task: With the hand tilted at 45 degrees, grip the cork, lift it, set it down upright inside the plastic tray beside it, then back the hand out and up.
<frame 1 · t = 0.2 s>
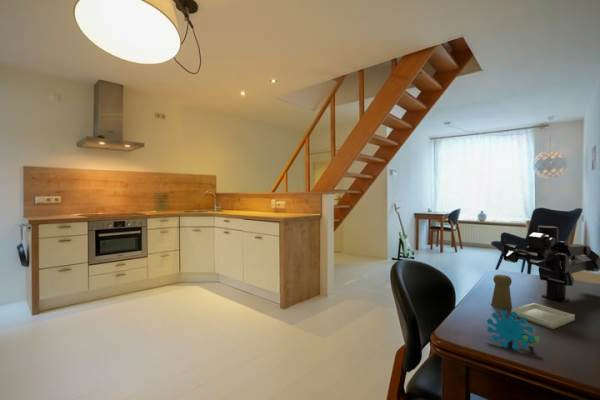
hand: (520, 260, 100), 16 cm above the table, tool horizontal, fingers open, 9 cm apart
gear: (511, 345, 75), on the table
cork: (501, 307, 102), on the table
tray: (542, 317, 93), on the table
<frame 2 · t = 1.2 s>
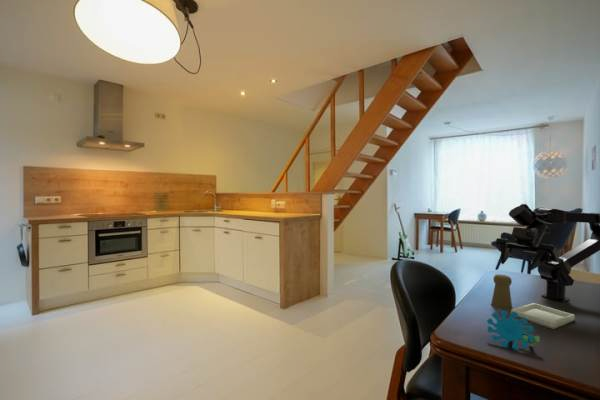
hand: (515, 266, 105), 13 cm above the table, tool tilted 45°, fingers open, 9 cm apart
nothing on the table moved.
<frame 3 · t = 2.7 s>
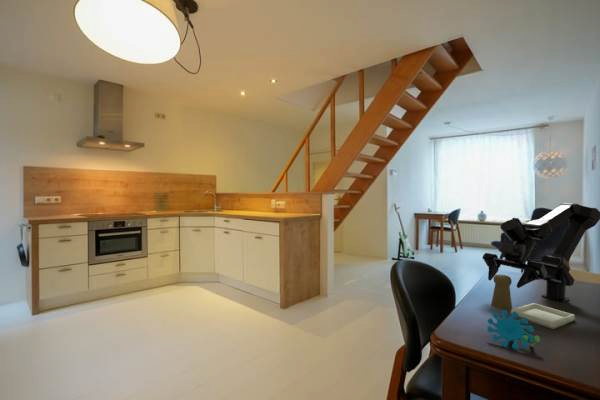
hand: (502, 283, 102), 8 cm above the table, tool tilted 45°, fingers open, 9 cm apart
nothing on the table moved.
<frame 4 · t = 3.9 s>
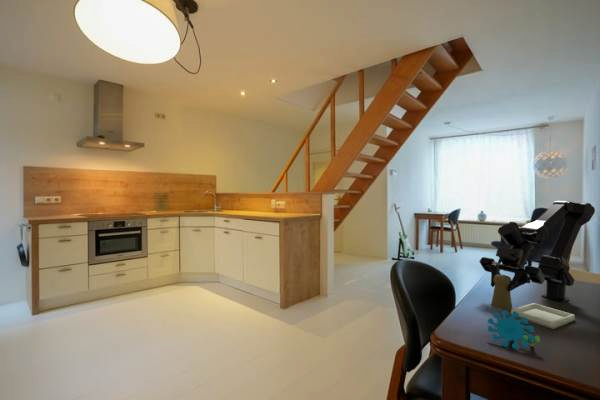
hand: (499, 288, 101), 7 cm above the table, tool tilted 45°, fingers closed on cork, 5 cm apart
cork: (501, 307, 102), on the table, touching gripper
everything else where it was.
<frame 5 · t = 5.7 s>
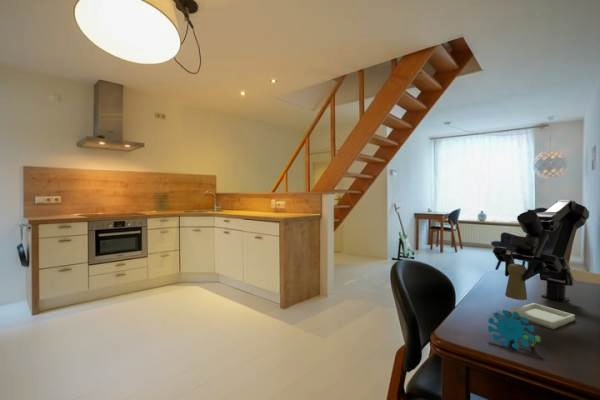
hand: (514, 277, 98), 11 cm above the table, tool tilted 45°, fingers closed on cork, 5 cm apart
cork: (516, 297, 99), point 4 cm above the table, touching gripper
everything else where it was.
when the fingers open (8 cm above the table, at t = 7.5 s): cork stays where it is, resting on tray.
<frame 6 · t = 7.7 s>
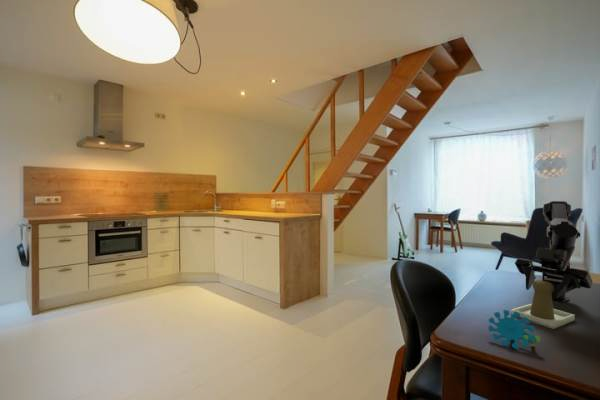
hand: (541, 292, 92), 8 cm above the table, tool tilted 45°, fingers open, 7 cm apart
cork: (542, 316, 93), resting on tray
everything else where it was.
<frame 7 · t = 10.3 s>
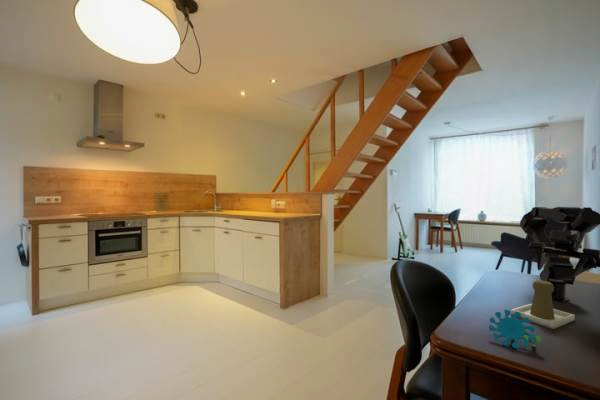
hand: (555, 272, 96), 14 cm above the table, tool tilted 45°, fingers open, 9 cm apart
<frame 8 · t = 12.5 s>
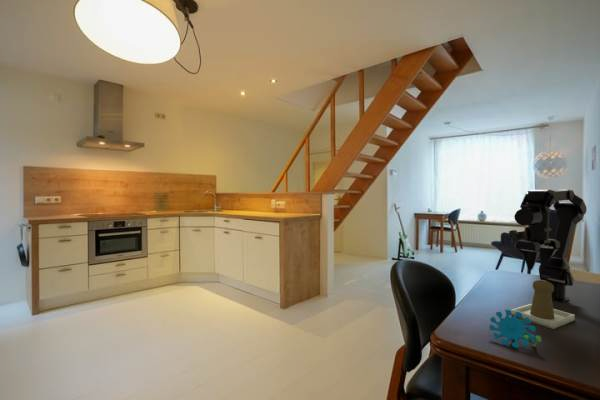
hand: (536, 268, 104), 13 cm above the table, tool pointing down, fingers open, 9 cm apart
at the end: cork inside the target area on the tray (0.2 cm from its centre), point 0.4 cm above the tray's base; cork tilted 0°; the gripper is holding nothing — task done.
